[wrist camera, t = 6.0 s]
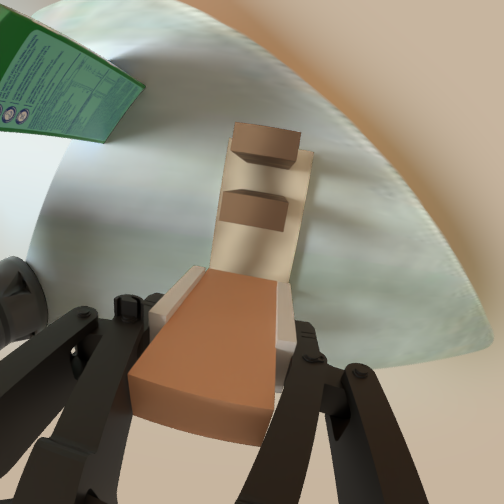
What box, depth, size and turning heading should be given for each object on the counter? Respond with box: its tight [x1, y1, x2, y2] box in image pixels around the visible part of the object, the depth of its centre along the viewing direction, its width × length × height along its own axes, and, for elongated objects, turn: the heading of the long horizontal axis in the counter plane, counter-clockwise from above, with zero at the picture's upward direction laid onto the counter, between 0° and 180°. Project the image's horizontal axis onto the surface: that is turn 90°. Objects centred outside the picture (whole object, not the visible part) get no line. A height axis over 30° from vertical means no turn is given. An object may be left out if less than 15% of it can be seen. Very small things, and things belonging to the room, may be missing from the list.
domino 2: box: [219, 189, 289, 232], centre depth 24 cm, size 4×2×11 cm, turn 81°
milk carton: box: [0, 4, 145, 144], centre depth 16 cm, size 9×9×25 cm
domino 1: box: [230, 122, 301, 170], centre depth 23 cm, size 4×2×11 cm, turn 81°
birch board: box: [209, 138, 314, 283], centre depth 31 cm, size 9×22×1 cm, turn 171°
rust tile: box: [127, 268, 277, 447], centre depth 13 cm, size 4×2×11 cm, turn 81°
